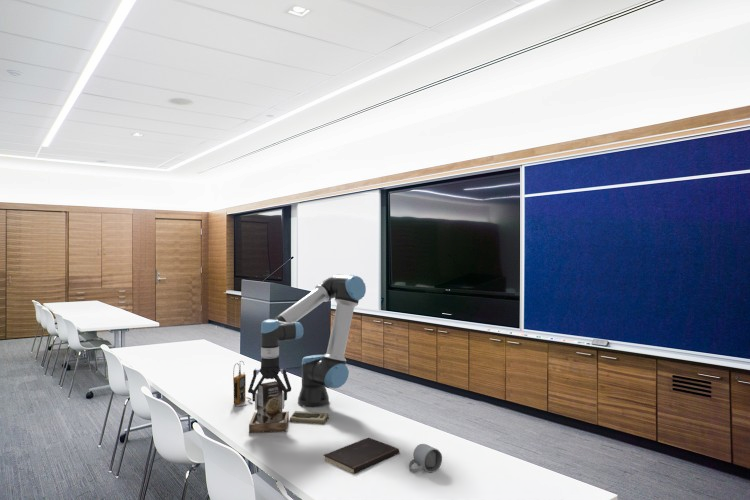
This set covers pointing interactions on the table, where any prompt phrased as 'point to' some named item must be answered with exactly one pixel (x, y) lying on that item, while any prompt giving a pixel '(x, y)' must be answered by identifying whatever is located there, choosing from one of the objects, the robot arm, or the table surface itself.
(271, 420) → the coffee box
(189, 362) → the table surface
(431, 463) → the ceramic mug
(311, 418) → the computer
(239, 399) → the multimeter
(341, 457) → the hardcover book
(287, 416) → the tray
